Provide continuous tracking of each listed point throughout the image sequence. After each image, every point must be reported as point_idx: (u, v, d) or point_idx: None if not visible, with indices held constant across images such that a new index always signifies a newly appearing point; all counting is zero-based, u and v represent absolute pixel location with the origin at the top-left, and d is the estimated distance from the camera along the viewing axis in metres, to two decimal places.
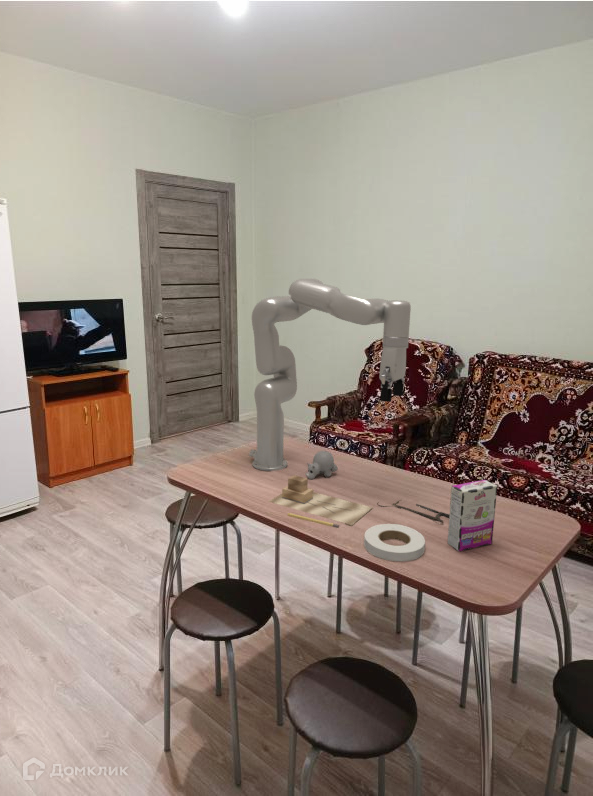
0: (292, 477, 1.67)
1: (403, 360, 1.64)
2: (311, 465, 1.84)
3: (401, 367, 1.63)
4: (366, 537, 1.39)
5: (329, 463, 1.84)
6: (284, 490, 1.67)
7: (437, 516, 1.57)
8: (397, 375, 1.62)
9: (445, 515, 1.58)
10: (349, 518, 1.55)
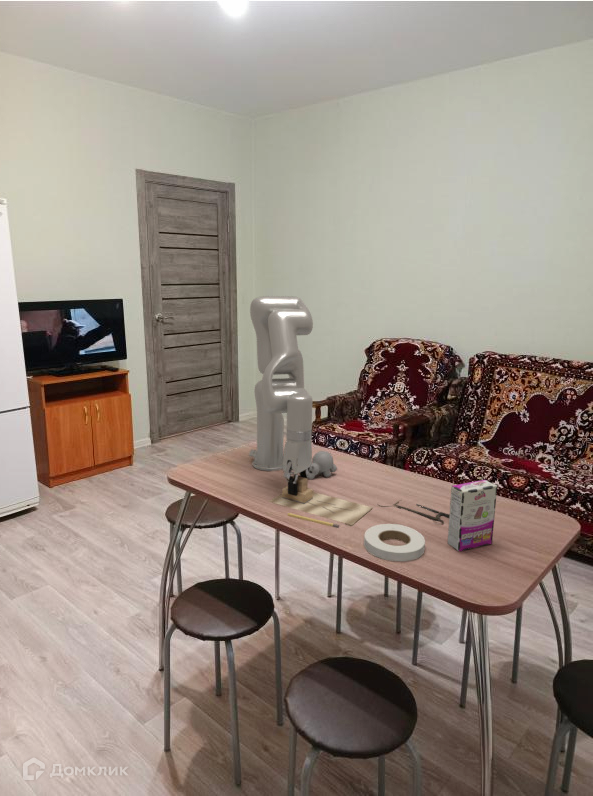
0: None
1: (307, 452, 1.64)
2: None
3: (305, 459, 1.63)
4: (366, 537, 1.39)
5: (329, 463, 1.84)
6: (284, 490, 1.67)
7: (437, 516, 1.57)
8: (300, 468, 1.62)
9: (445, 515, 1.58)
10: (349, 518, 1.55)
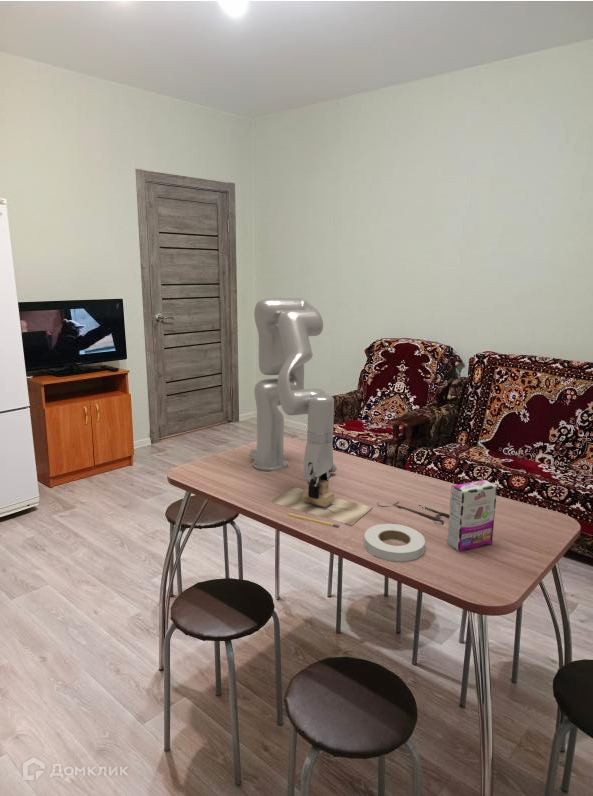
0: None
1: (328, 454, 1.60)
2: None
3: (326, 461, 1.60)
4: (366, 537, 1.39)
5: None
6: (304, 493, 1.63)
7: (437, 516, 1.57)
8: (321, 471, 1.58)
9: (445, 515, 1.58)
10: (349, 518, 1.55)
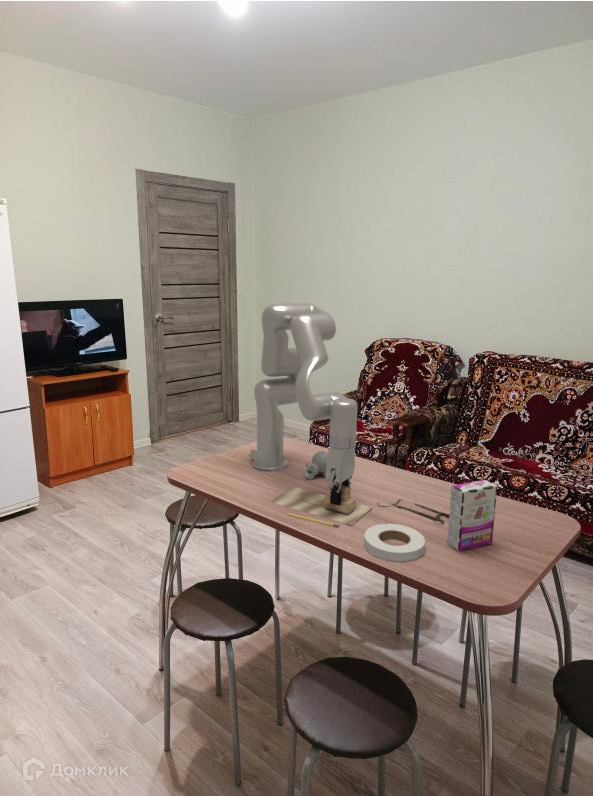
0: None
1: (351, 459, 1.57)
2: (310, 465, 1.83)
3: (348, 467, 1.56)
4: (366, 537, 1.39)
5: None
6: (326, 499, 1.59)
7: (437, 516, 1.57)
8: (344, 477, 1.55)
9: (445, 515, 1.58)
10: (349, 518, 1.55)
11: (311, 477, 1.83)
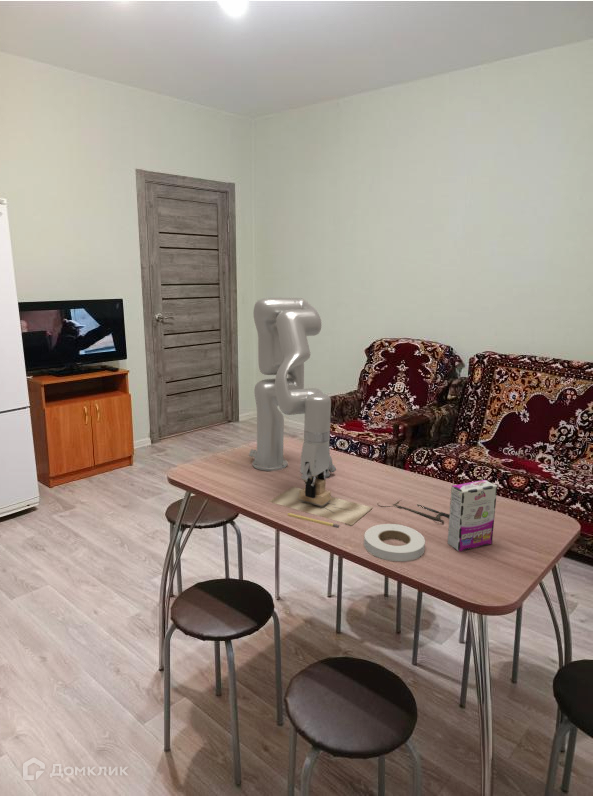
0: None
1: (325, 453, 1.61)
2: None
3: (323, 461, 1.60)
4: (366, 537, 1.39)
5: None
6: (301, 492, 1.63)
7: (438, 516, 1.57)
8: (318, 470, 1.59)
9: (446, 515, 1.58)
10: (349, 518, 1.55)
11: None
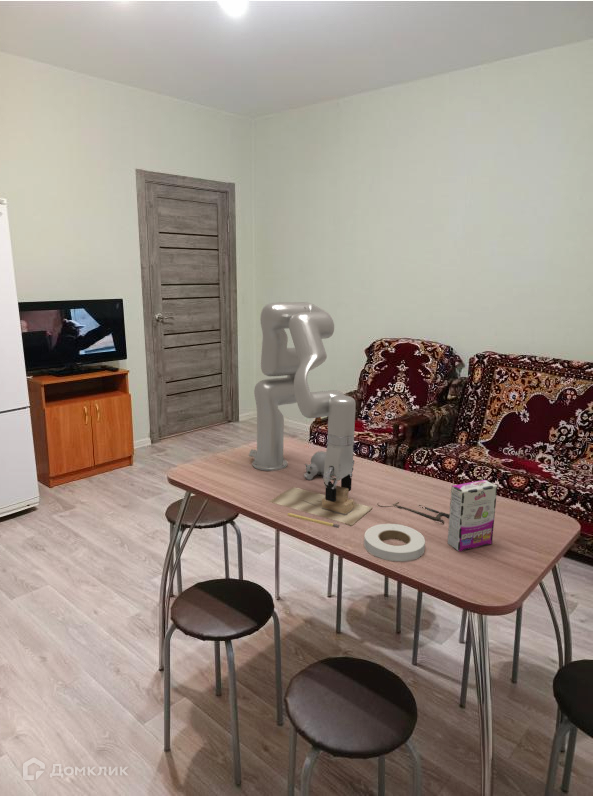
0: None
1: (349, 457, 1.57)
2: (309, 466, 1.83)
3: (347, 465, 1.56)
4: (366, 537, 1.39)
5: None
6: (324, 500, 1.60)
7: (438, 516, 1.57)
8: (342, 474, 1.55)
9: (446, 515, 1.58)
10: (349, 518, 1.55)
11: (310, 477, 1.82)
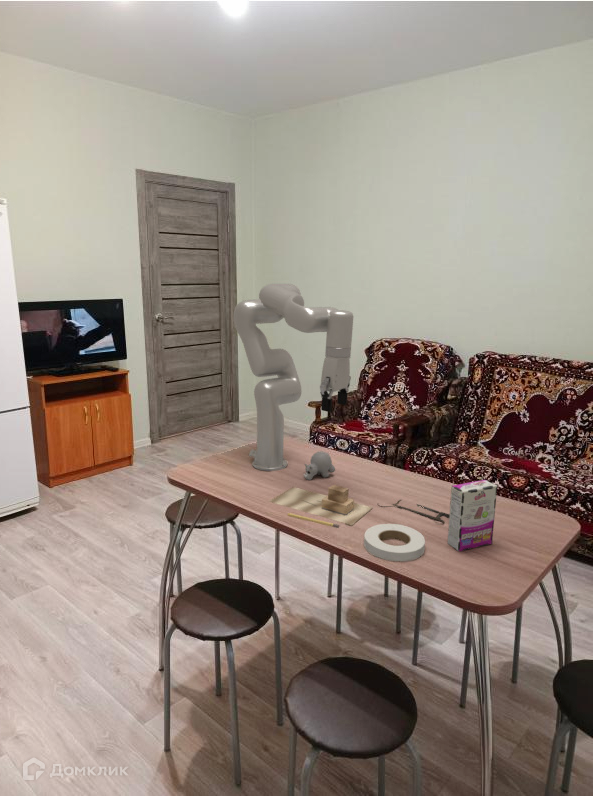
0: (332, 487, 1.60)
1: (345, 370, 1.63)
2: (309, 466, 1.83)
3: (343, 377, 1.63)
4: (366, 537, 1.39)
5: (327, 464, 1.83)
6: (324, 500, 1.60)
7: (438, 516, 1.57)
8: (338, 386, 1.62)
9: (446, 515, 1.58)
10: (349, 518, 1.55)
11: (310, 477, 1.82)
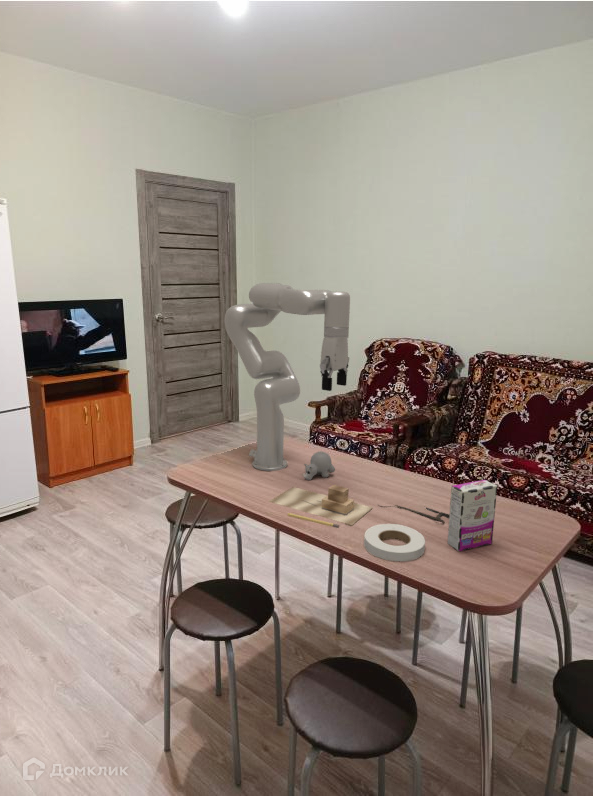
0: (332, 487, 1.60)
1: (344, 350, 1.67)
2: (308, 466, 1.83)
3: (342, 357, 1.66)
4: (366, 537, 1.39)
5: (327, 464, 1.83)
6: (324, 500, 1.60)
7: (438, 516, 1.57)
8: (338, 365, 1.65)
9: (446, 515, 1.58)
10: (349, 518, 1.55)
11: (310, 477, 1.82)
